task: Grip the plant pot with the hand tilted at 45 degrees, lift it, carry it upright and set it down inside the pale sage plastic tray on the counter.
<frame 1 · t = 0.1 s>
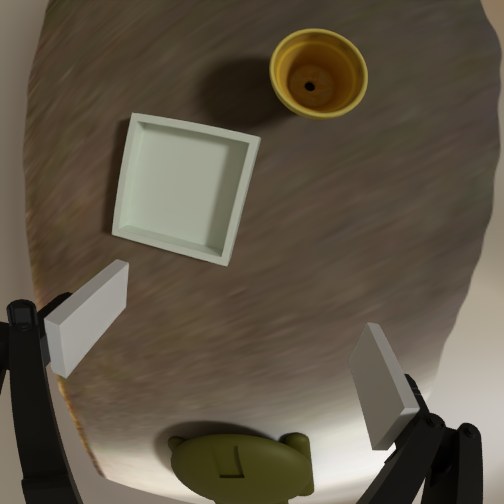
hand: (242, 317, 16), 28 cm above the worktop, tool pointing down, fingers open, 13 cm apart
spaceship: (244, 462, 61), on the worktop
plant pot: (310, 88, 37), on the worktop
tray: (185, 184, 42), on the worktop
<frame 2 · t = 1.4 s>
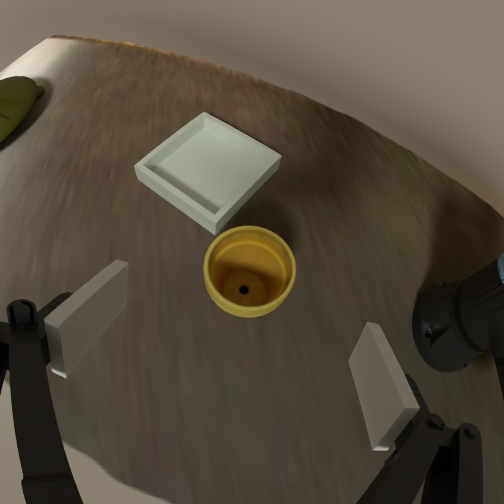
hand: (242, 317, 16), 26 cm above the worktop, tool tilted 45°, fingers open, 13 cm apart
plant pot: (242, 293, 44), on the worktop
tray: (208, 172, 52), on the worktop
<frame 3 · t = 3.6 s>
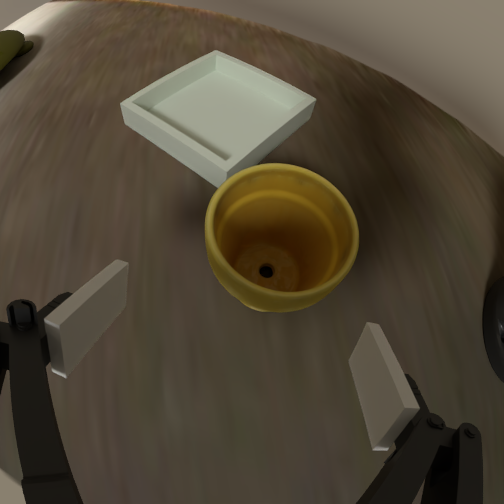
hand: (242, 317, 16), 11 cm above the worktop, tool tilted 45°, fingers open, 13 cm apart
plant pot: (264, 276, 29), on the worktop
tray: (218, 117, 37), on the worktop
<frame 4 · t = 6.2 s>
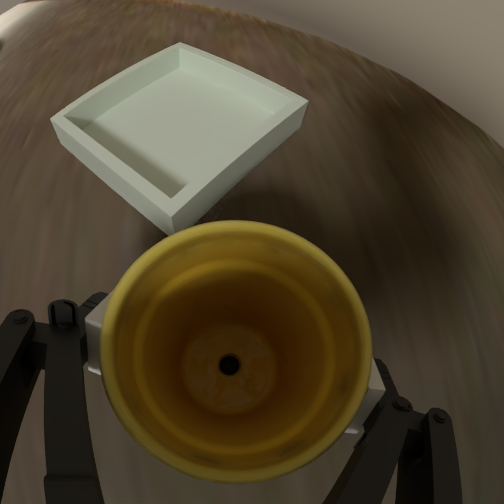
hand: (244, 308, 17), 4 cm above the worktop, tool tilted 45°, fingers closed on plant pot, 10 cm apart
plant pot: (227, 368, 20), on the worktop, touching gripper
tray: (176, 128, 28), on the worktop
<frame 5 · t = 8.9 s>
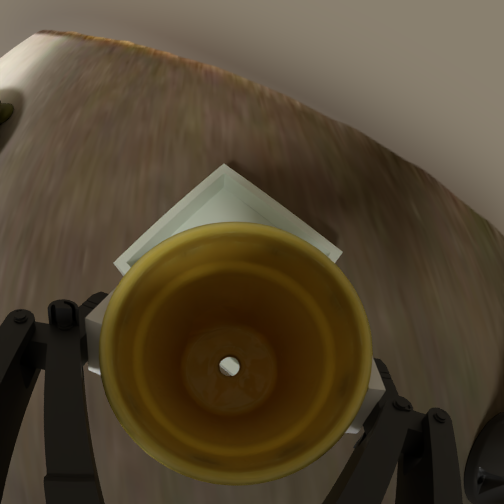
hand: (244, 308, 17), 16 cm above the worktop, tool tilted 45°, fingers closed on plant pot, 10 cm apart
plant pot: (227, 369, 20), point 12 cm above the worktop, touching gripper
tray: (228, 270, 35), on the worktop
when the fingers open (6 cm above the worktop, at t = 12.0 s): plant pot drops 1 cm, resting on tray.
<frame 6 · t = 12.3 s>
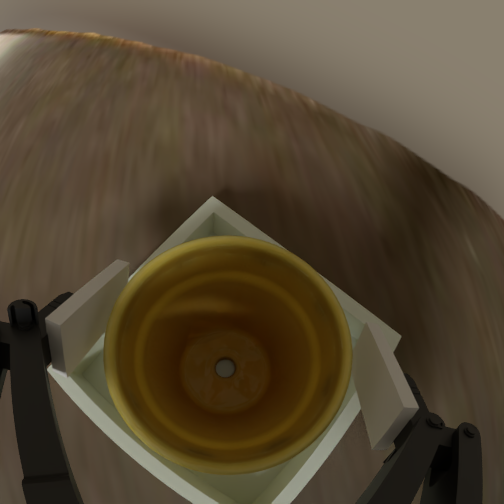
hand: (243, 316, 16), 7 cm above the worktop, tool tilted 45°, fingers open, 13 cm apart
plant pot: (223, 370, 21), resting on tray
tray: (227, 369, 21), on the worktop
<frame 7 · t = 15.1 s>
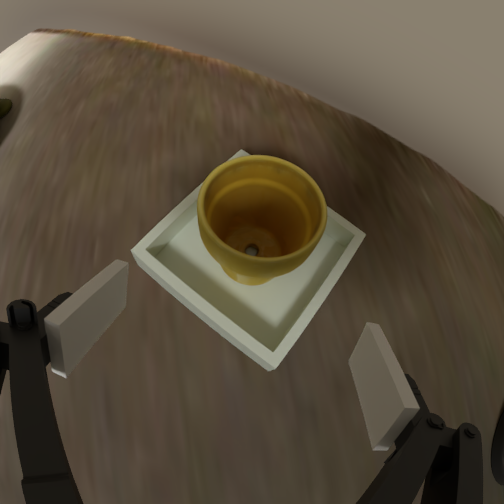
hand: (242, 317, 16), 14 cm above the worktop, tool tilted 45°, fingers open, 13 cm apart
plant pot: (249, 255, 33), resting on tray
tray: (251, 256, 34), on the worktop
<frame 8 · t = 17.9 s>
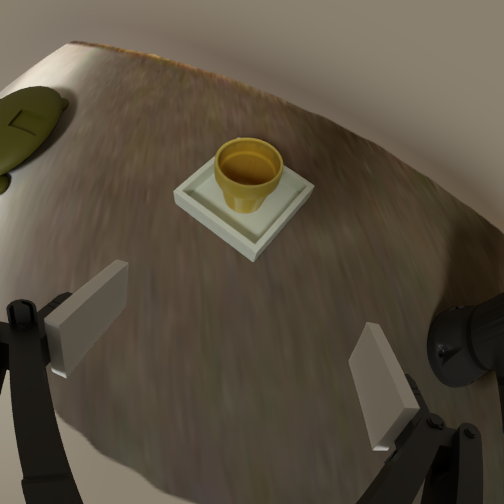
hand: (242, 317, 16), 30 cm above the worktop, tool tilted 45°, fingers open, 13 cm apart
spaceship: (9, 142, 57), on the worktop
plant pot: (243, 198, 55), resting on tray
tray: (244, 199, 55), on the worktop
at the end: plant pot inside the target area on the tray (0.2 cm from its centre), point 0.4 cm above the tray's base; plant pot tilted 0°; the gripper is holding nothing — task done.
